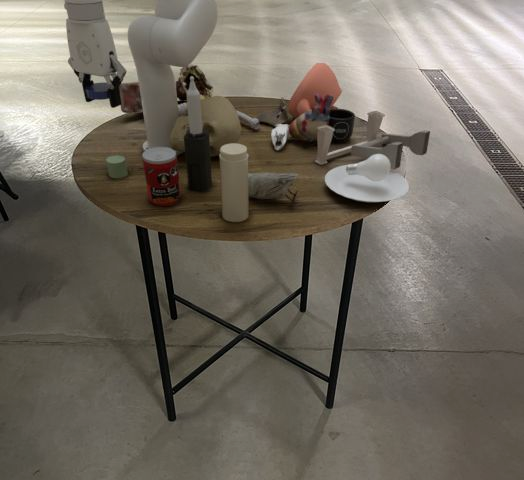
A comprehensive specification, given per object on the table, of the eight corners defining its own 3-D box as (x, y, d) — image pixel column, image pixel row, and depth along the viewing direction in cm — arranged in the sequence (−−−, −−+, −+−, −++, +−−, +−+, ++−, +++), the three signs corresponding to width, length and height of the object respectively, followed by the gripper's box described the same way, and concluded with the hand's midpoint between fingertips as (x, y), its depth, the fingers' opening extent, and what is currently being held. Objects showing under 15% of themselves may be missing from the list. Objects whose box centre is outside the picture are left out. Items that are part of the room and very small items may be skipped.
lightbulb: (341, 160, 117) (386, 157, 112) (349, 152, 121) (392, 149, 116) (343, 186, 121) (387, 184, 116) (351, 177, 125) (393, 175, 120)
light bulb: (180, 117, 159) (208, 109, 159) (181, 125, 154) (211, 116, 154) (173, 97, 154) (203, 88, 154) (175, 104, 150) (205, 95, 150)
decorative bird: (235, 190, 120) (234, 161, 114) (298, 198, 117) (300, 169, 112) (229, 201, 116) (228, 171, 111) (294, 209, 114) (297, 179, 108)
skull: (168, 121, 120) (247, 118, 123) (162, 87, 129) (236, 85, 133) (172, 169, 131) (245, 165, 134) (167, 135, 140) (235, 132, 144)
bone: (228, 111, 158) (218, 115, 157) (227, 95, 154) (217, 99, 153) (261, 135, 150) (252, 139, 149) (261, 119, 146) (251, 123, 144)
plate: (346, 215, 111) (348, 206, 110) (310, 177, 125) (311, 169, 124) (423, 203, 117) (425, 194, 115) (380, 168, 131) (382, 160, 129)
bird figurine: (267, 124, 134) (274, 124, 143) (268, 151, 137) (275, 148, 146) (285, 124, 133) (290, 123, 142) (285, 150, 136) (291, 148, 145)
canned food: (151, 208, 113) (143, 162, 105) (147, 193, 118) (140, 148, 110) (183, 204, 114) (178, 159, 106) (178, 189, 120) (173, 145, 112)
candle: (213, 183, 122) (207, 74, 105) (206, 192, 119) (198, 81, 101) (194, 180, 123) (185, 72, 106) (187, 189, 120) (176, 78, 102)
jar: (222, 208, 113) (219, 142, 102) (248, 208, 113) (248, 142, 103) (221, 222, 109) (218, 154, 98) (249, 222, 109) (248, 154, 98)
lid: (80, 95, 111) (78, 87, 110) (105, 88, 115) (103, 80, 114) (99, 101, 108) (97, 94, 107) (123, 94, 112) (122, 86, 111)
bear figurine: (196, 54, 161) (171, 70, 168) (177, 72, 152) (151, 88, 159) (218, 94, 168) (193, 107, 175) (201, 113, 159) (175, 126, 167)
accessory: (305, 130, 147) (305, 134, 148) (285, 137, 143) (285, 141, 143) (327, 137, 143) (327, 141, 143) (307, 145, 138) (307, 148, 139)
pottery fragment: (259, 127, 164) (252, 112, 162) (289, 110, 162) (282, 94, 159) (261, 139, 150) (253, 123, 147) (294, 121, 148) (286, 104, 145)
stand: (111, 170, 127) (107, 155, 124) (129, 170, 127) (126, 155, 124) (107, 178, 123) (104, 163, 120) (126, 178, 123) (123, 163, 121)
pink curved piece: (271, 125, 149) (305, 153, 151) (297, 81, 135) (334, 113, 137) (303, 89, 162) (334, 116, 164) (330, 46, 148) (363, 75, 150)
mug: (354, 144, 141) (358, 119, 136) (324, 144, 141) (327, 119, 136) (346, 129, 150) (349, 104, 145) (317, 129, 149) (319, 105, 144)
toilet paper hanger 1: (311, 161, 133) (320, 166, 131) (315, 127, 126) (325, 132, 124) (369, 142, 143) (378, 147, 141) (376, 110, 136) (385, 114, 134)
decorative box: (169, 125, 166) (182, 127, 159) (112, 121, 154) (124, 124, 148) (169, 81, 160) (183, 82, 153) (110, 74, 148) (122, 75, 142)
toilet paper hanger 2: (350, 139, 126) (348, 162, 130) (397, 145, 120) (394, 169, 123) (386, 126, 141) (383, 147, 144) (430, 130, 134) (426, 153, 138)
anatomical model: (311, 131, 147) (330, 83, 135) (323, 150, 143) (344, 101, 131) (283, 130, 143) (301, 80, 131) (295, 149, 139) (314, 99, 127)
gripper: (41, 10, 101) (64, 101, 113) (106, 19, 95) (122, 114, 108) (67, 4, 105) (86, 92, 118) (130, 13, 100) (143, 105, 112)
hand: (103, 102), depth 113 cm, fingers closed on lid, 6 cm apart
